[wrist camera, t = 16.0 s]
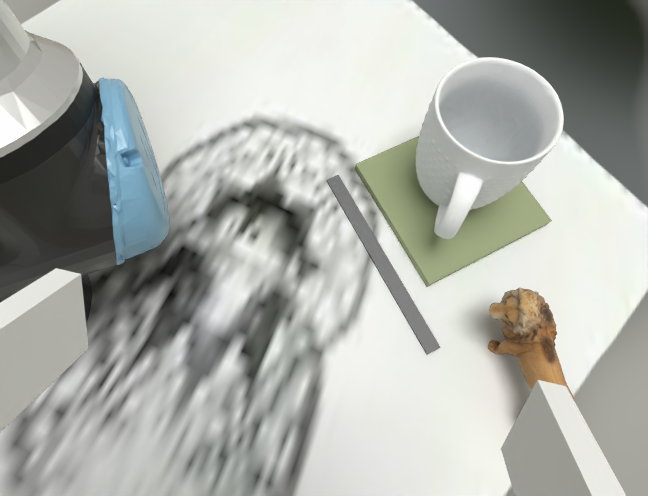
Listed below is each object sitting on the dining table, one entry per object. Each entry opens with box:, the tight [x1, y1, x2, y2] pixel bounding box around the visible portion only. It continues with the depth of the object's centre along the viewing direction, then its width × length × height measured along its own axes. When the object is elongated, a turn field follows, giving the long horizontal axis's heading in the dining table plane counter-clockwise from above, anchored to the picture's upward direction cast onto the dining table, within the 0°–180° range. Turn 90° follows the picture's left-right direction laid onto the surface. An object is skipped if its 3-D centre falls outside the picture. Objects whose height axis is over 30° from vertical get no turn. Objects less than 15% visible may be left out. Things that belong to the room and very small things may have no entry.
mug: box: [416, 58, 564, 239], centre depth 40 cm, size 15×11×13 cm
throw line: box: [327, 175, 440, 355], centre depth 44 cm, size 22×2×1 cm, turn 27°
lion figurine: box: [488, 288, 575, 402], centre depth 36 cm, size 15×5×9 cm, turn 19°
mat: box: [355, 136, 552, 286], centre depth 46 cm, size 16×16×1 cm
